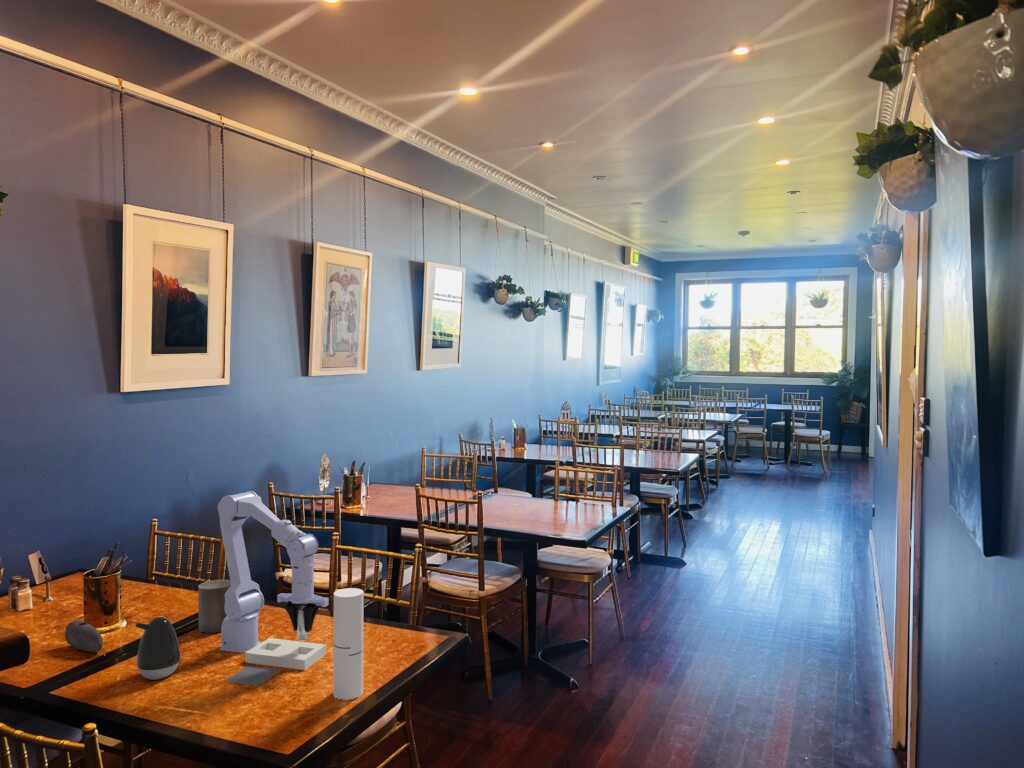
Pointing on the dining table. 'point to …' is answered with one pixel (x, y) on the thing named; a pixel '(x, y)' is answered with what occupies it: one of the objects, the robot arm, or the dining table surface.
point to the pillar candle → (212, 605)
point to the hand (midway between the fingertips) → (302, 630)
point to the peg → (301, 625)
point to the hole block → (285, 653)
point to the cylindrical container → (348, 643)
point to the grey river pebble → (83, 637)
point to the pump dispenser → (158, 649)
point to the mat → (253, 675)
